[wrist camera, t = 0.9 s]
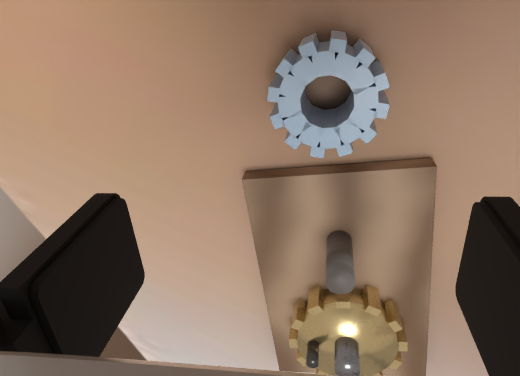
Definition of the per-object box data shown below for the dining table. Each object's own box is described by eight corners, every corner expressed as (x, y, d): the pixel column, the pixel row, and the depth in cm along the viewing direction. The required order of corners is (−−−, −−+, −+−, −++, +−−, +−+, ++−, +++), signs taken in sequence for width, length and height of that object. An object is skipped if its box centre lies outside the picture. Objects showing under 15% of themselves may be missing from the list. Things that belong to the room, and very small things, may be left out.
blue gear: (381, 22, 25) (389, 29, 21) (383, 131, 28) (390, 153, 24) (269, 39, 26) (259, 48, 23) (283, 140, 29) (276, 162, 26)
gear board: (431, 157, 28) (456, 202, 23) (422, 363, 38) (437, 430, 32) (245, 171, 31) (226, 213, 26) (281, 358, 41) (273, 419, 35)
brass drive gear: (403, 279, 32) (414, 327, 28) (402, 361, 36) (411, 413, 32) (285, 280, 34) (278, 325, 30) (297, 357, 38) (293, 406, 34)
